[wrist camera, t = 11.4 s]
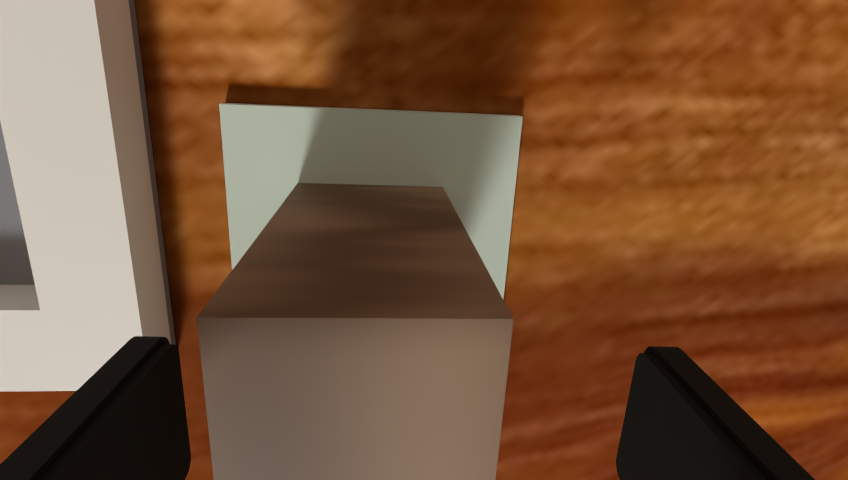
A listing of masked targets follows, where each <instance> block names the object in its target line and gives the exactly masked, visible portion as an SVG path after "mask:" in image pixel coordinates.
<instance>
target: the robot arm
mask: <svg viewBox="0 0 848 480" xmlns="http://www.w3.org/2000/svg"><path fill="white" fill-rule="evenodd" d="M190 461H191V453H190V444H189V436H188V427H187V419H186V410H185V401H184V393H183V384H182V375H181V367H180V358H179V351H178V347H177V346H176V345H175V344H170V342H169V340H168V339H167V338H166V337H150V336H134V337H132V338H131V339H130V340H129V341H128V342H127V343H126V344H125V345H124V346H123V347H122V348H120V349H119V350H118V351H117V352H116V353H115V354H114V355H113V356H112V357H111V358H110V359H109V360H108V361H107V362H106V363H105V364H104V365H103V366H102V367H101V368H100V369H99V370H98V371H97V372H96V373H95V374H94V375H93V376H91V377H90V378H89V379H88V380H87V381H86V382H85V383H84V384H83V385H82V386H81V387H80V388H79V389H78V390H77V391H76V392H75V393H74V394H73V395H72V396H71V397H70V398H69V399H68V400H67V401H66V402H65V403H64V404H63V405H61V406H60V407H59V408H58V409H57V410H56V411H55V412H54V413H53V414H52V415H51V416H50V417H49V418H48V419H47V420H46V421H45V422H44V423H43V424H42V425H41V426H40V427H39V428H38V429H37V430H36V431H35V432H34V433H32V434H31V435H30V436H29V437H28V438H27V439H26V440H25V441H24V442H23V443H22V444H21V445H20V446H19V447H18V448H17V449H16V450H15V451H14V452H13V453H12V454H11V455H10V456H9V457H8V458H7V459H6V460H5V461H3V462H2V463H1V464H0V480H185V478H186V476H187V474H188V471H189V467H190ZM616 467H617V472H618V476H619V478H620V480H815V479H814V478H813V477H812V476H811V475H810V474H809V473H808V472H806V471H805V470H804V469H803V468H802V467H801V466H800V465H799V464H798V463H797V462H796V461H795V460H794V459H793V458H792V457H791V456H790V455H789V454H788V453H787V452H786V451H785V450H784V449H783V448H782V447H781V446H780V445H779V444H778V443H777V442H776V441H775V440H774V439H773V438H772V437H771V436H770V435H769V434H767V433H766V432H765V431H764V430H763V429H762V428H761V427H760V426H759V425H758V424H757V423H756V422H755V421H754V420H753V419H752V418H751V417H750V416H749V415H748V414H747V413H746V412H745V411H744V410H743V409H742V408H741V407H740V406H739V405H738V404H737V403H736V402H735V401H734V400H733V399H732V398H731V397H730V396H728V395H727V394H726V393H725V392H724V391H723V390H722V389H721V388H720V387H719V386H718V385H717V384H716V383H715V382H714V381H713V380H712V379H711V378H710V377H709V376H708V375H707V374H706V373H705V372H704V371H703V370H702V369H701V368H700V367H699V366H698V365H697V364H696V363H695V362H694V361H693V360H692V359H691V358H689V357H688V356H687V355H686V354H685V353H684V352H683V351H682V350H681V349H680V348H678V347H648V348H647V349H646V350H645V352H644V353H640V354H639V355H638V356H637V359H636V362H635V367H634V372H633V377H632V383H631V388H630V393H629V398H628V403H627V408H626V413H625V418H624V423H623V428H622V433H621V438H620V443H619V448H618V453H617V459H616Z"/></svg>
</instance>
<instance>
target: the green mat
mask: <svg viewBox="0 0 848 480" xmlns="http://www.w3.org/2000/svg"><path fill="white" fill-rule="evenodd" d="M219 108H220V120H221V133H222V146H223V159H224V172H225V185H226V198H227V210H228V223H229V236H230V249H231V262H232V270H233V269H234V267H235V266H236V265H237V263H238V262H239V261H240V259H241V258H242V257H243V255H244V254H245V253H246V251H247V250H248V249H249V247H250V246H251V245H252V243H253V242H254V241H255V239H256V238H257V237H258V235H259V234H260V233H261V231H262V230H263V229H264V227H265V226H266V225H267V223H268V222H269V221H270V219H271V218H272V217H273V215H274V214H275V213H276V211H277V210H278V209H279V207H280V206H281V205H282V203H283V202H284V201H285V199H286V198H287V197H288V195H289V194H290V193H291V191H292V190H293V189H294V187H295V186H296V185H297V183H322V184H357V185H393V186H428V187H443V188H444V190H445V192H446V194H447V196H448V198H449V199H450V201H451V203H452V205H453V207H454V209H455V211H456V212H457V214H458V216H459V218H460V220H461V222H462V224H463V226H464V227H465V229H466V231H467V233H468V235H469V237H470V239H471V240H472V242H473V244H474V246H475V248H476V250H477V252H478V254H479V255H480V257H481V259H482V261H483V263H484V265H485V267H486V268H487V270H488V272H489V274H490V276H491V278H492V280H493V282H494V283H495V285H496V287H497V289H498V291H499V293H500V295H501V296H502V298H503V299H504V290H505V280H506V271H507V261H508V252H509V242H510V233H511V223H512V214H513V204H514V195H515V185H516V176H517V166H518V157H519V147H520V138H521V128H522V119H523V117H522V116H519V115H500V114H477V113H453V112H430V111H406V110H382V109H359V108H335V107H311V106H288V105H264V104H241V103H221V104H219Z"/></svg>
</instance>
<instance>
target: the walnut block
mask: <svg viewBox="0 0 848 480" xmlns="http://www.w3.org/2000/svg"><path fill="white" fill-rule="evenodd" d="M197 324H198V334H199V343H200V353H201V362H202V372H203V381H204V391H205V400H206V410H207V419H208V429H209V438H210V448H211V457H212V467H213V477H214V480H495V479H496V470H497V461H498V452H499V443H500V434H501V426H502V417H503V408H504V399H505V390H506V381H507V372H508V364H509V355H510V346H511V337H512V328H513V317H512V315H511V313H510V311H509V310H508V308H507V306H506V304H505V302H504V300H503V298H502V296H501V295H500V293H499V291H498V289H497V287H496V285H495V283H494V282H493V280H492V278H491V276H490V274H489V272H488V270H487V268H486V267H485V265H484V263H483V261H482V259H481V257H480V255H479V254H478V252H477V250H476V248H475V246H474V244H473V242H472V240H471V239H470V237H469V235H468V233H467V231H466V229H465V227H464V226H463V224H462V222H461V220H460V218H459V216H458V214H457V212H456V211H455V209H454V207H453V205H452V203H451V201H450V199H449V198H448V196H447V194H446V192H445V190H444V188H443V187H428V186H393V185H357V184H322V183H297V185H296V186H295V187H294V189H293V190H292V191H291V193H290V194H289V195H288V197H287V198H286V199H285V201H284V202H283V203H282V205H281V206H280V207H279V209H278V210H277V211H276V213H275V214H274V215H273V217H272V218H271V219H270V221H269V222H268V223H267V225H266V226H265V227H264V229H263V230H262V231H261V233H260V234H259V235H258V237H257V238H256V239H255V241H254V242H253V243H252V245H251V246H250V247H249V249H248V250H247V251H246V253H245V254H244V255H243V257H242V258H241V259H240V261H239V262H238V263H237V265H236V266H235V267H234V269H233V270H232V271H231V273H230V274H229V275H228V277H227V278H226V279H225V281H224V282H223V283H222V285H221V286H220V287H219V289H218V290H217V291H216V293H215V294H214V295H213V297H212V298H211V299H210V301H209V302H208V303H207V305H206V306H205V307H204V309H203V310H202V311H201V313H200V314H199V315H198V317H197Z"/></svg>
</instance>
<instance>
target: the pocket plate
mask: <svg viewBox="0 0 848 480" xmlns="http://www.w3.org/2000/svg"><path fill="white" fill-rule="evenodd" d="M134 336H150V337H166V338H167V339H168V340H169V342H170V344H175V345H176V341H175V332H174V324H173V316H172V308H171V299H170V291H169V283H168V275H167V266H166V258H165V250H164V242H163V233H162V225H161V217H160V209H159V200H158V192H157V184H156V176H155V167H154V159H153V151H152V143H151V134H150V126H149V118H148V110H147V101H146V93H145V85H144V77H143V68H142V60H141V52H140V44H139V35H138V27H137V19H136V11H135V2H134V0H0V391H77V390H78V389H79V388H80V387H81V386H82V385H83V384H84V383H85V382H86V381H87V380H88V379H89V378H90V377H91V376H93V375H94V374H95V373H96V372H97V371H98V370H99V369H100V368H101V367H102V366H103V365H104V364H105V363H106V362H107V361H108V360H109V359H110V358H111V357H112V356H113V355H114V354H115V353H116V352H117V351H118V350H119V349H120V348H122V347H123V346H124V345H125V344H126V343H127V342H128V341H129V340H130V339H131V338H132V337H134Z"/></svg>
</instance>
